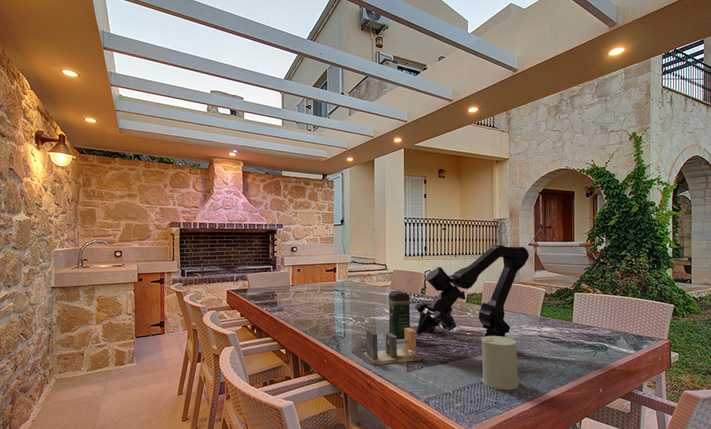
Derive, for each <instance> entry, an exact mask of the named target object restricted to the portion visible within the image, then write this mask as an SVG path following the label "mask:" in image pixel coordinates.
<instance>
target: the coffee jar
mask: <svg viewBox="0 0 711 429" xmlns="http://www.w3.org/2000/svg"><path fill="white" fill-rule="evenodd" d="M410 297H411V296H410V294H409V293H407V292H404V291H402V290H391V291H390V292H389V294H388V306H389V308H388V309H389V311H388V312H389V313H388V316H389V318H388V321H389V322H388V333H392V334H393V335H394V336H396V337H397V340H400V339H405V328H411V318H410V317H411V316H410V311H411V310H410V309H411V308H410V307H411V306H410V304H411V300H410Z"/></svg>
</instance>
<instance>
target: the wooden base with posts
mask: <svg viewBox="0 0 711 429" xmlns="http://www.w3.org/2000/svg"><path fill="white" fill-rule="evenodd" d="M365 330H366V351H365V352H363V354H364V356H365V358H366V360H368V361H369V362H370V363H371V364H372V365H374V366H375V365H383V364H385V365H386V364H395V363H404V362H406V363H407V362H415V361H421V360H422V358H421V356H420V355H419V354H417V353H416V354H415V355H413V354H412V356H409V355H408V352H407V351H406V350H405V348H398V349H397V346H398V344H397V340H398V338H397V337H396V336H394V335H393V334H392V333H389V332H387V333H385V349H384V350H378V333H376V332H375V331H374V330H373V329H371V328H370V329H365ZM388 340H389V345H388Z"/></svg>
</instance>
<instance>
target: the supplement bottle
mask: <svg viewBox="0 0 711 429" xmlns="http://www.w3.org/2000/svg"><path fill="white" fill-rule="evenodd" d="M432 303H433V302H429V301H425V302H421V304H424V305H426V306H427V305H428V304H429V305H431V304H432ZM427 308H428V307H427ZM428 309H429V308H428ZM436 330H437V326H433V327H431V328H429V329H428V330H426V331H425V332H424V333H434V332H436Z"/></svg>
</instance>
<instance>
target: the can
mask: <svg viewBox="0 0 711 429" xmlns="http://www.w3.org/2000/svg"><path fill="white" fill-rule="evenodd" d="M480 341H481V359H482V360H481V361H482V362H481V363H482V383H483V384H484V385H486V386H487V387H490V388H493V389H496V390H502V391H504V390H505V391H511V390H516V389H518V388H519V386H520V385H519V379H518V377H519V376H518V362H517V360H518V356H517V354H518V353H517V342H518V341H516V340H515V339H513V338H510V337H507V336H506V337H501V336H486V337H485V336H482V337H481V339H480Z"/></svg>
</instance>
